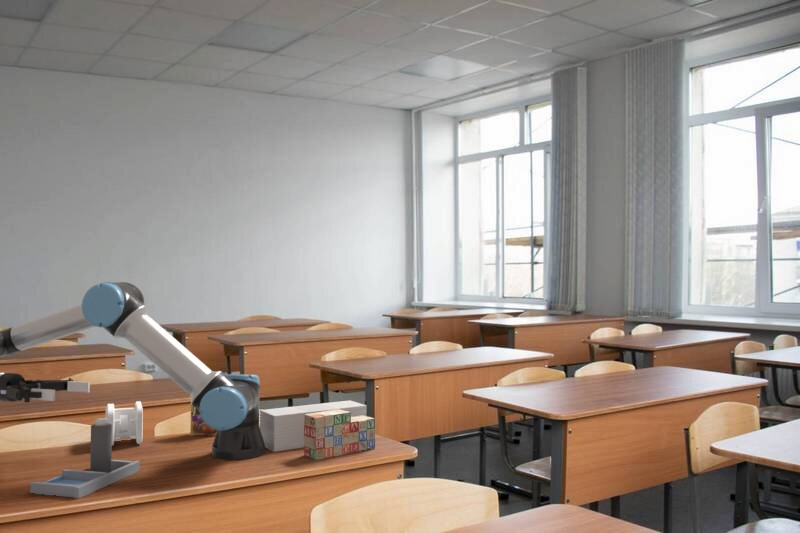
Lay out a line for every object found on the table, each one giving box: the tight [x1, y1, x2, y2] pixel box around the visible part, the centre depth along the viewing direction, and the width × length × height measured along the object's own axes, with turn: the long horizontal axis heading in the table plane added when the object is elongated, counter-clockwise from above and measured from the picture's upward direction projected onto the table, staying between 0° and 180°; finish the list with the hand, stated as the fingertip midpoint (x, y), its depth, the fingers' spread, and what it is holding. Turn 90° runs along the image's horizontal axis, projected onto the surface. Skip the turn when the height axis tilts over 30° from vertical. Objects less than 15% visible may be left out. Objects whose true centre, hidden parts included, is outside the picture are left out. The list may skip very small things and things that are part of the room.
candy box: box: [189, 403, 217, 437], centre depth 230 cm, size 9×4×15 cm, turn 96°
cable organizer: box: [104, 400, 144, 447], centre depth 219 cm, size 15×11×12 cm
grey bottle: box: [89, 417, 113, 473], centre depth 183 cm, size 5×5×14 cm
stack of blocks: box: [303, 409, 376, 461], centre depth 209 cm, size 21×6×12 cm, turn 130°
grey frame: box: [29, 459, 141, 499], centre depth 178 cm, size 14×24×2 cm, turn 167°
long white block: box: [259, 399, 368, 452], centre depth 223 cm, size 32×11×11 cm, turn 124°
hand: (72, 391), depth 187 cm, fingers open, 13 cm apart
